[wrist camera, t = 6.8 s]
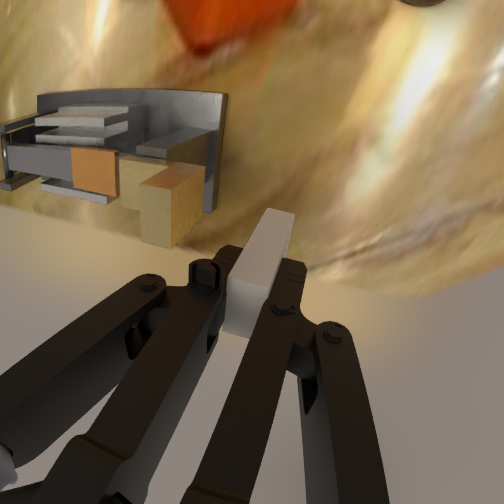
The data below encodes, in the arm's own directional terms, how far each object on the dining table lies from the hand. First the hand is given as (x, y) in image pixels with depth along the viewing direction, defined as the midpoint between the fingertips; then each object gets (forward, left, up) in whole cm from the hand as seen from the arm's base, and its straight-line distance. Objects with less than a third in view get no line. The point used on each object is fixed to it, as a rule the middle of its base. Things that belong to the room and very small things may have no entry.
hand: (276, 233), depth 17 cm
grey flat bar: (-22, 0, -5) cm, 22 cm away
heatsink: (-21, 0, -14) cm, 25 cm away
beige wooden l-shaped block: (-9, 0, -3) cm, 9 cm away
